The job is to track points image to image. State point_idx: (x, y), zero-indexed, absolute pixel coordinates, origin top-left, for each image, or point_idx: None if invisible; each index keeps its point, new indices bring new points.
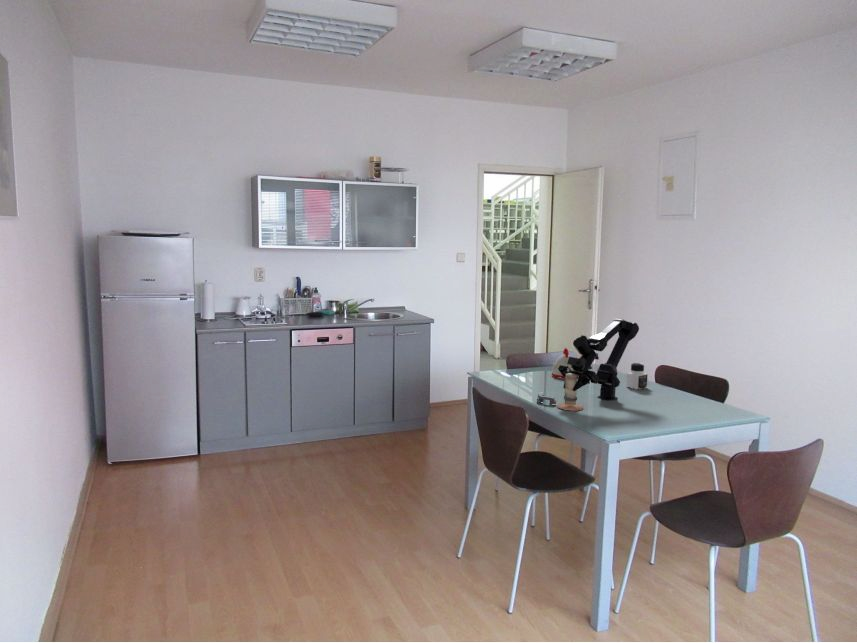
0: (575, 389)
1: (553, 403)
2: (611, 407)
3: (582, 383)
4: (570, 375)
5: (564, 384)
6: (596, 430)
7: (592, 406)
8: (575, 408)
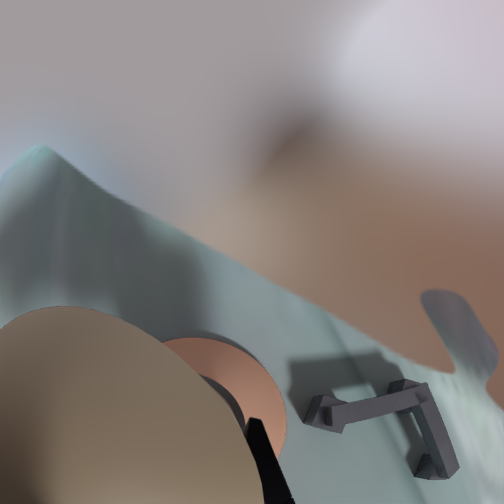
0: None
1: (315, 402)
2: None
3: None
4: (49, 320)
5: (262, 444)
6: (52, 160)
7: None
8: None
